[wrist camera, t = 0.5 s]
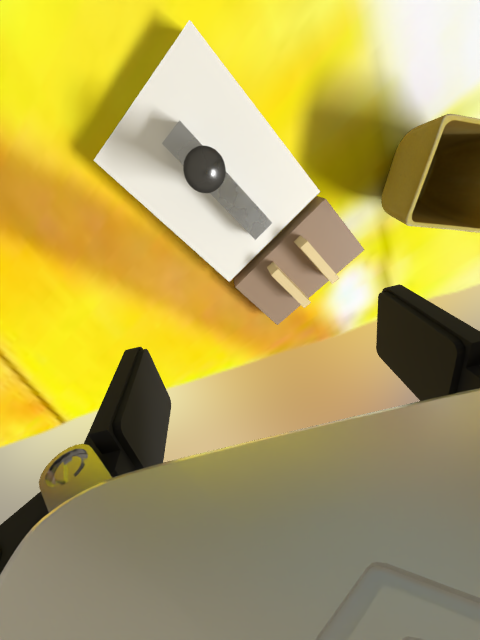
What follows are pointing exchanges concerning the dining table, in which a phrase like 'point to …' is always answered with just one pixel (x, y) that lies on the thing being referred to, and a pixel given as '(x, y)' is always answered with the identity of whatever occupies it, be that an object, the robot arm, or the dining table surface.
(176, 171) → the slide latch panel
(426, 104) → the dining table surface
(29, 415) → the dining table surface
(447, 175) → the flower pot
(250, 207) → the bolt
